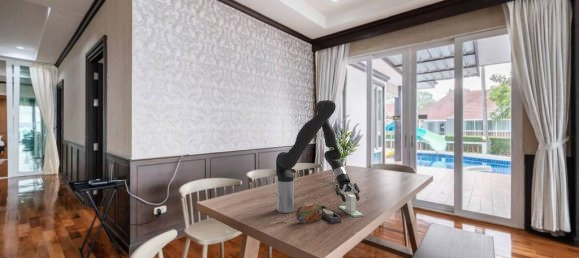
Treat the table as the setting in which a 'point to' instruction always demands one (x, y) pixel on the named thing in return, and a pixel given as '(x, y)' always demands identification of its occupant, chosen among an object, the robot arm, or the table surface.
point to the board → (354, 214)
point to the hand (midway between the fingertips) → (351, 200)
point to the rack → (333, 219)
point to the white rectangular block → (350, 203)
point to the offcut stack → (328, 212)
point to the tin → (309, 213)
